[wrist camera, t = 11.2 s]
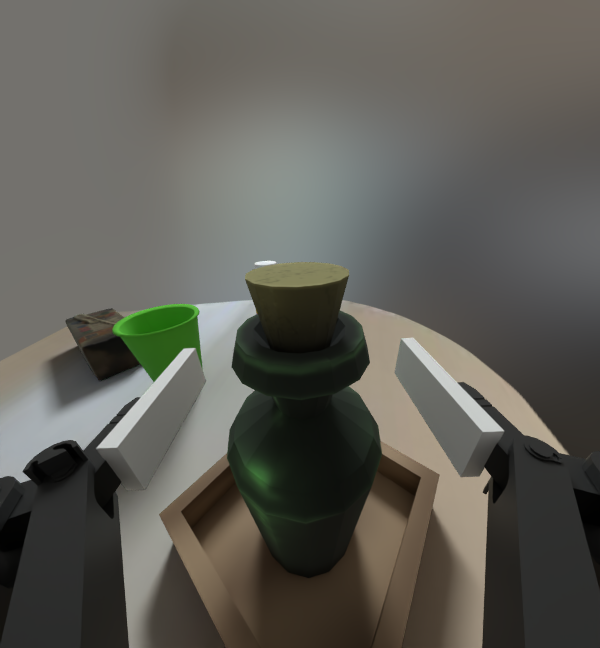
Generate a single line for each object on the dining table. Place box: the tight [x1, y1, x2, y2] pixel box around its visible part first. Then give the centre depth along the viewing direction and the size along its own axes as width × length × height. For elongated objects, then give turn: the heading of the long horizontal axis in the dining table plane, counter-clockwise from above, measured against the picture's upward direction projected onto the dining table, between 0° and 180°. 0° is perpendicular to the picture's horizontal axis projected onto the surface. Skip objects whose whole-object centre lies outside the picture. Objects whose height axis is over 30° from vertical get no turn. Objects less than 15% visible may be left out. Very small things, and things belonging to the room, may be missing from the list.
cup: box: [112, 304, 202, 382], centre depth 28 cm, size 9×9×11 cm
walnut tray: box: [159, 441, 439, 648], centre depth 16 cm, size 14×14×4 cm
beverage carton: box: [66, 309, 140, 381], centre depth 39 cm, size 8×19×7 cm, turn 51°
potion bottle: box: [227, 262, 382, 578], centre depth 12 cm, size 8×8×18 cm
